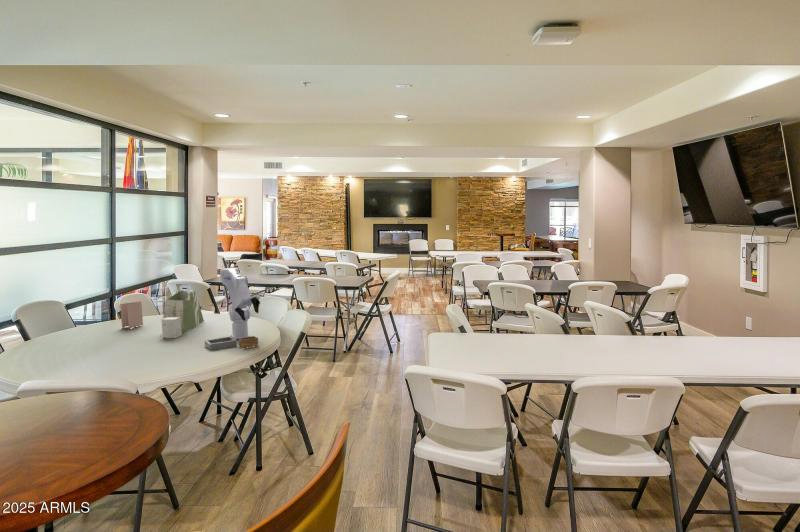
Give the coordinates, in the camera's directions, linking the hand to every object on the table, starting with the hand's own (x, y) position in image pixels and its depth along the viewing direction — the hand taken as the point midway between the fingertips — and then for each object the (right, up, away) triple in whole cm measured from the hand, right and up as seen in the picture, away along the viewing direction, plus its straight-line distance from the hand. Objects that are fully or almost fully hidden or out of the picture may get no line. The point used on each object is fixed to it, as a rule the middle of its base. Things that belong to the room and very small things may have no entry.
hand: (250, 316), depth 245 cm
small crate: (-1, -16, +1) cm, 16 cm away
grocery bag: (-54, -12, +48) cm, 73 cm away
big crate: (-16, -15, +3) cm, 22 cm away
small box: (-50, -14, +24) cm, 57 cm away
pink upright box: (-84, -12, +47) cm, 97 cm away
